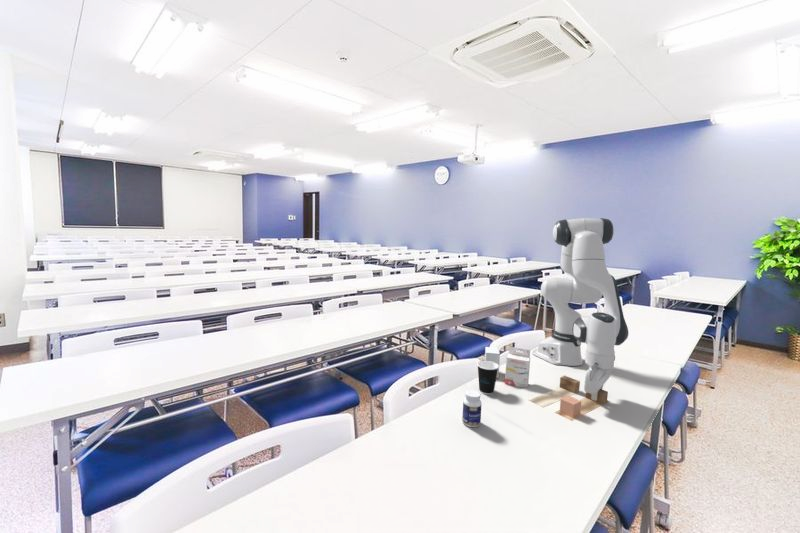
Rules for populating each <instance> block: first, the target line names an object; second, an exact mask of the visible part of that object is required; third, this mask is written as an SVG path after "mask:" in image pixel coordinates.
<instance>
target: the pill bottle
mask: <svg viewBox="0 0 800 533" xmlns="http://www.w3.org/2000/svg"><path fill="white" fill-rule="evenodd" d="M464 397H465V398H464V399H463V403H462V417H461V419H462V420H461V421H462V424H463V425H464V426H466V427H470V428H478V427H479V426H480V425H481V423H482V422H481V419H482V400H480V399H481V392H480V391H476V390H472V389H470V390H466V391H465V394H464Z"/></svg>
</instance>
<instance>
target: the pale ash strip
mask: <svg viewBox="0 0 800 533" xmlns="http://www.w3.org/2000/svg"><path fill="white" fill-rule="evenodd" d="M580 383H581V382H580V380H578V379H574V378H572V377H570V376H566V375H563V376H561V377H560V378H559V387H557V388H555V389H553V390H550V391H547V392H545V393H543V394H540V395H538V396H535V397H533V398H530V399H528V401H529V402H531V403H534V404H535V405H537V406H540V407H542V408H546V407H548V406H550V405H553V404H554V403H556V402H559V401H561V399H562V398H564V397H566V396H571V397H572V396H573V395H574V394H577V393H579V392H580Z"/></svg>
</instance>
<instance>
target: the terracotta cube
mask: <svg viewBox="0 0 800 533" xmlns="http://www.w3.org/2000/svg"><path fill="white" fill-rule="evenodd" d="M580 400H581V399H577V398H575V397H573V396H572V395H571V396H566V397H564V398H562V399H561V400H559V401H560V403H559V404H560V405H559V410H560V412H561V413H563V414H565V415H567V416H570V417H572V418H574V417H576V416H578V415H579V414H580V412H581V401H580Z"/></svg>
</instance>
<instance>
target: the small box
mask: <svg viewBox="0 0 800 533" xmlns="http://www.w3.org/2000/svg"><path fill="white" fill-rule="evenodd" d="M484 349H485V350H484V351H485V352H484V361H491V362H494V363H496V364H498V365H499V366H500V363H501V362H500V360H501V358H500V357H501V353H500V349H499V347H493V346H485V348H484ZM499 378H500V367H499V368H498V370H497V376H496V379H499Z"/></svg>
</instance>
